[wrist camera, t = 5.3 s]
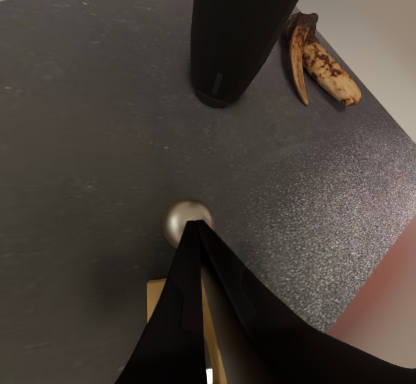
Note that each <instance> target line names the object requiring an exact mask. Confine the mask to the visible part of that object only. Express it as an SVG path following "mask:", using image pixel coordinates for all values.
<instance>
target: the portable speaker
mask: <svg viewBox="0 0 416 384" xmlns="http://www.w3.org/2000/svg"><path fill="white" fill-rule="evenodd" d="M297 2H298V0H194V3H193V14H192V25H191V79H192V84H193V86H194V88H195V89H196V92H197V96H198V98H199V99H200V101H201V102H202V103H204V104H207V105H209V106H211V107H214V108H223V107H225V106H226V105H227V104H229V103H233V102H235V101H237V100H238V99H239V98H240V97H241V95H242V94H243V93H244V91H245V90H246V89H247V87H248V86H249V84H250V83H251V82H252V80H253V79H254V77H255V76H256V74H257V73H258V72H259V70H260V69H261V67H262V66H263V64H264V63H265V62H266V60H267V58H268V56H269V54H270V52H271V50H272V49H273V47H274V45H275V43H276V41H277V39H278V37H279V35H280V34H281V32H282V30H283V28H284V26H285V24H286V22H287V20H288V19H289V17H290V15H291V13H292V11H293V9H294V7H295V6H296V4H297Z"/></svg>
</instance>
